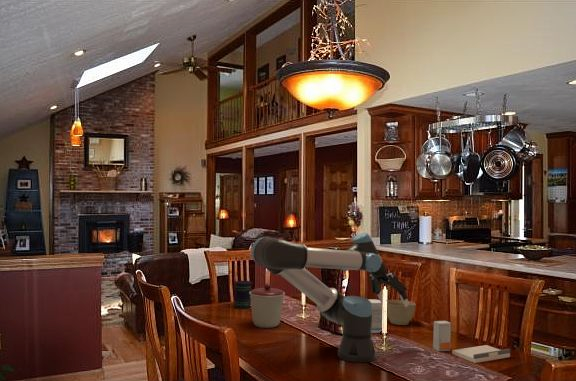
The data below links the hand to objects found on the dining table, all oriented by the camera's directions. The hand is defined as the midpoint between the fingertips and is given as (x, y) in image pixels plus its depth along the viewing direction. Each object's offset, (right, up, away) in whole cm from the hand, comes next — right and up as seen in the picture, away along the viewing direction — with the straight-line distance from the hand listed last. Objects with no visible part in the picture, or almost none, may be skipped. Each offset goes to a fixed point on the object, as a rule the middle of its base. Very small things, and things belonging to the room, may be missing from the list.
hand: (396, 305), depth 213 cm
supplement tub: (-7, -17, +17) cm, 25 cm away
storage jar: (-76, -17, +63) cm, 100 cm away
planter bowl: (+10, -18, +34) cm, 40 cm away
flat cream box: (+31, -17, -17) cm, 40 cm away
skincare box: (+17, -17, -11) cm, 26 cm away
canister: (-60, -16, +23) cm, 66 cm away
